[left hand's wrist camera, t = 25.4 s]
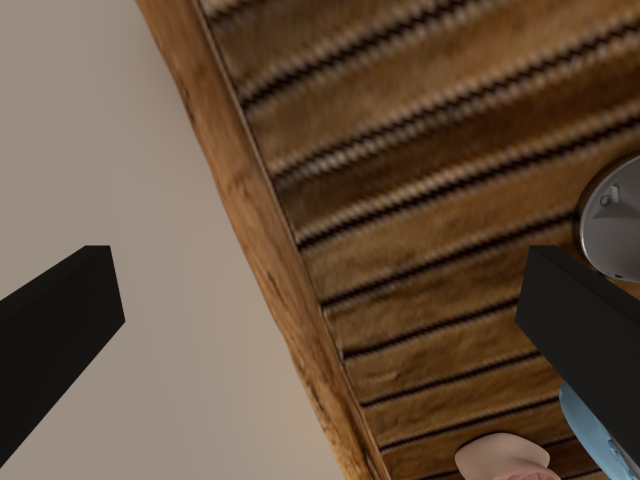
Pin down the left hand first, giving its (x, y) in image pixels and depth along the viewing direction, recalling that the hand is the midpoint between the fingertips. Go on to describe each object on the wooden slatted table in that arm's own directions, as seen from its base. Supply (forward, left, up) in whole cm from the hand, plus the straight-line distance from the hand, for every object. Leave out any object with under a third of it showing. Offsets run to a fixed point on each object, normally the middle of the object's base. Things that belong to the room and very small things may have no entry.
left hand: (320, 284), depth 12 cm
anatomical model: (-5, +53, -32) cm, 62 cm away
